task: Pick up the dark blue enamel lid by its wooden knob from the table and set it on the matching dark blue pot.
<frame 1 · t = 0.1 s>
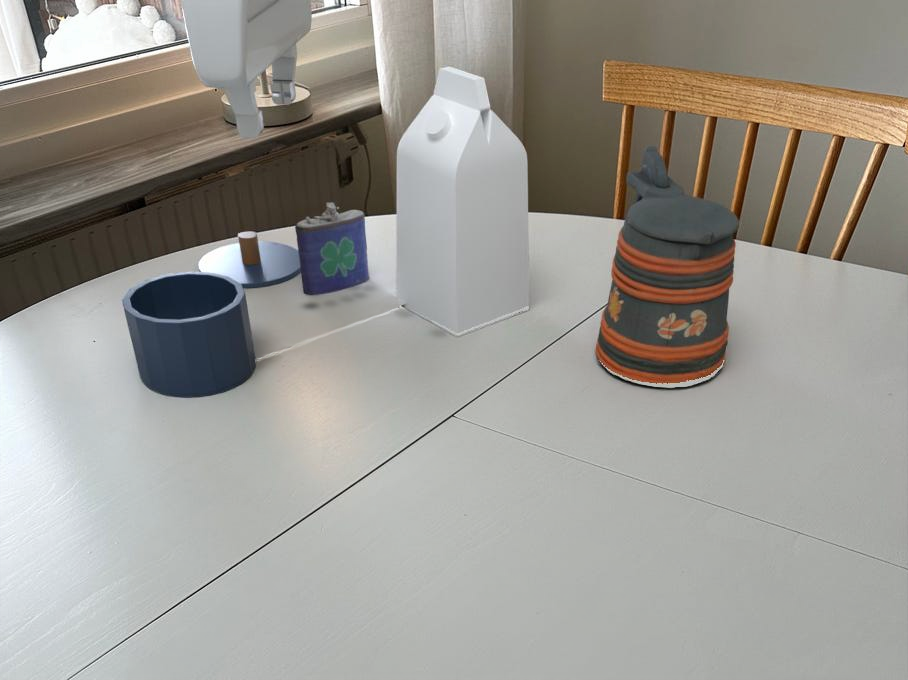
hand: (268, 118, 87), 29 cm above the table, tool pointing down, fingers open, 8 cm apart
milk: (462, 307, 126), on the table
beer stein: (650, 352, 117), on the table
pot: (198, 369, 113), on the table
pot lid: (252, 266, 132), point 1 cm above the table
flask: (337, 291, 129), on the table
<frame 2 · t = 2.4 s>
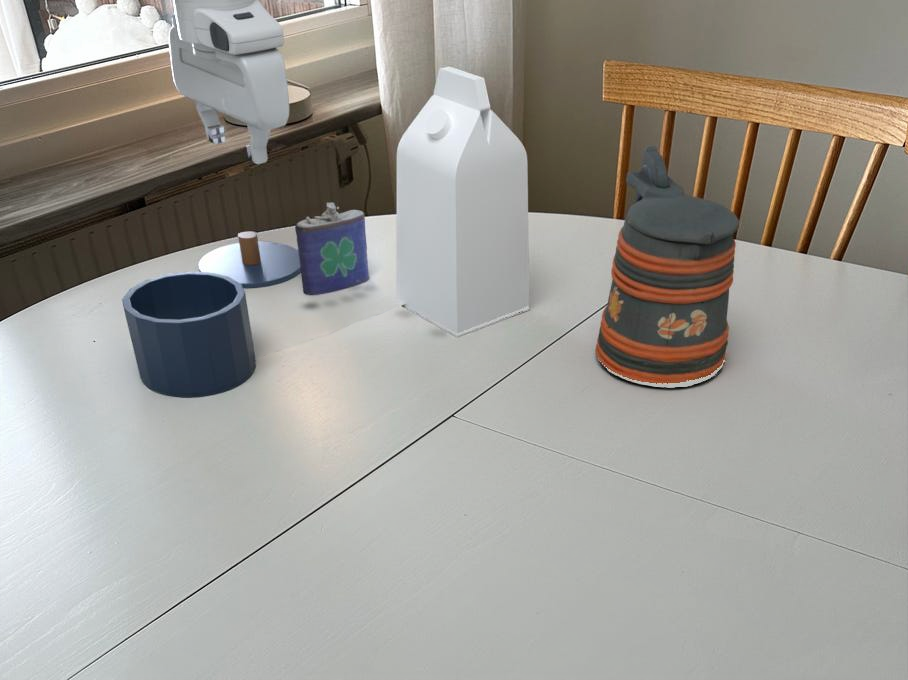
hand: (237, 151, 121), 15 cm above the table, tool pointing down, fingers open, 8 cm apart
nothing on the table moved.
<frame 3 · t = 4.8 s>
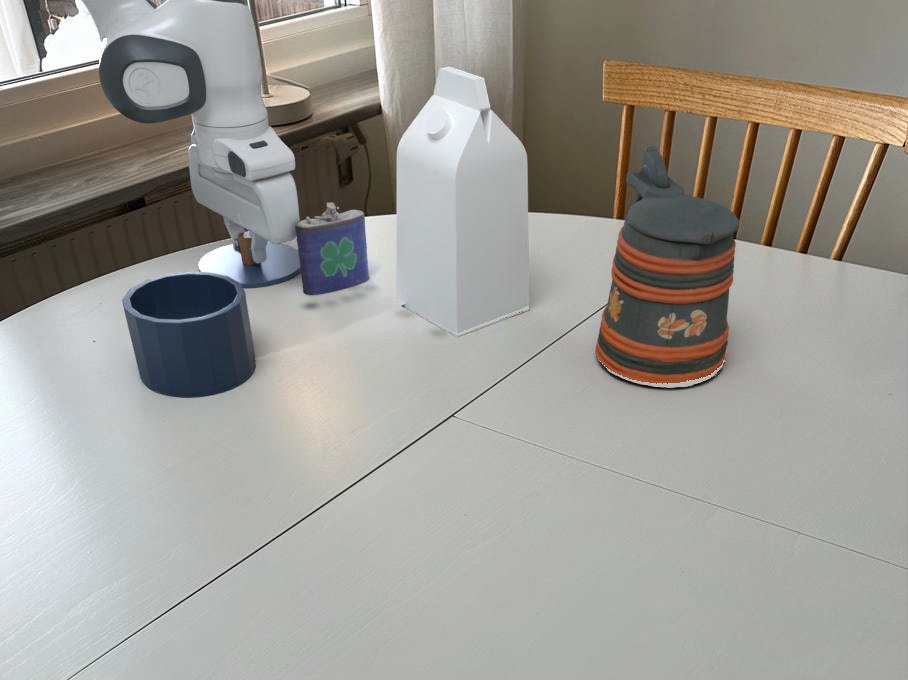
hand: (250, 256, 132), 2 cm above the table, tool pointing down, fingers closed on pot lid, 2 cm apart
pot lid: (252, 266, 132), point 1 cm above the table, touching gripper
everything else where it was.
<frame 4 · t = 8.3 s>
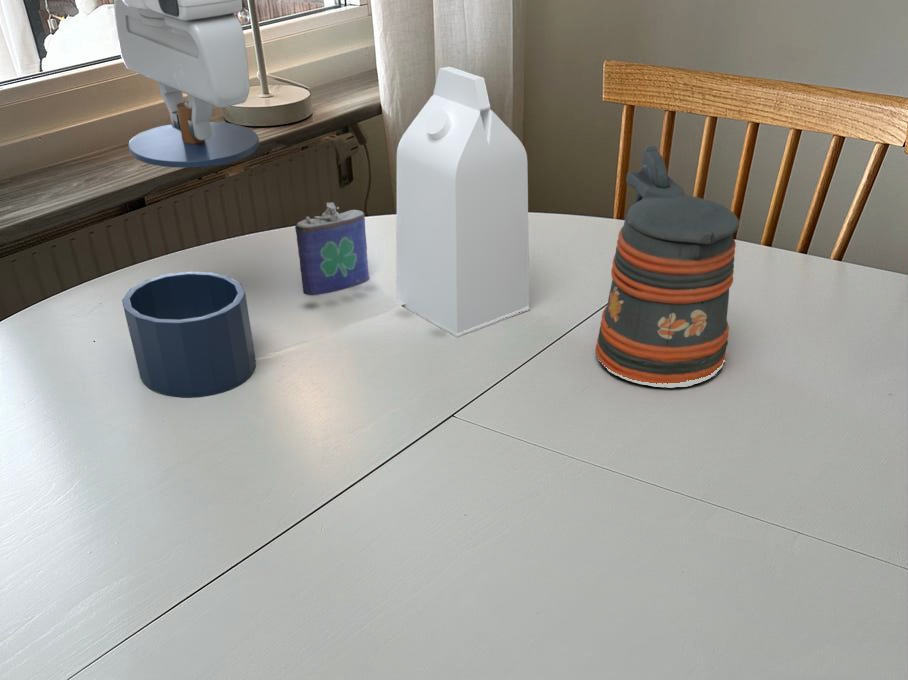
hand: (192, 133, 108), 21 cm above the table, tool pointing down, fingers closed on pot lid, 2 cm apart
pot lid: (195, 146, 109), point 20 cm above the table, touching gripper
everything else where it was.
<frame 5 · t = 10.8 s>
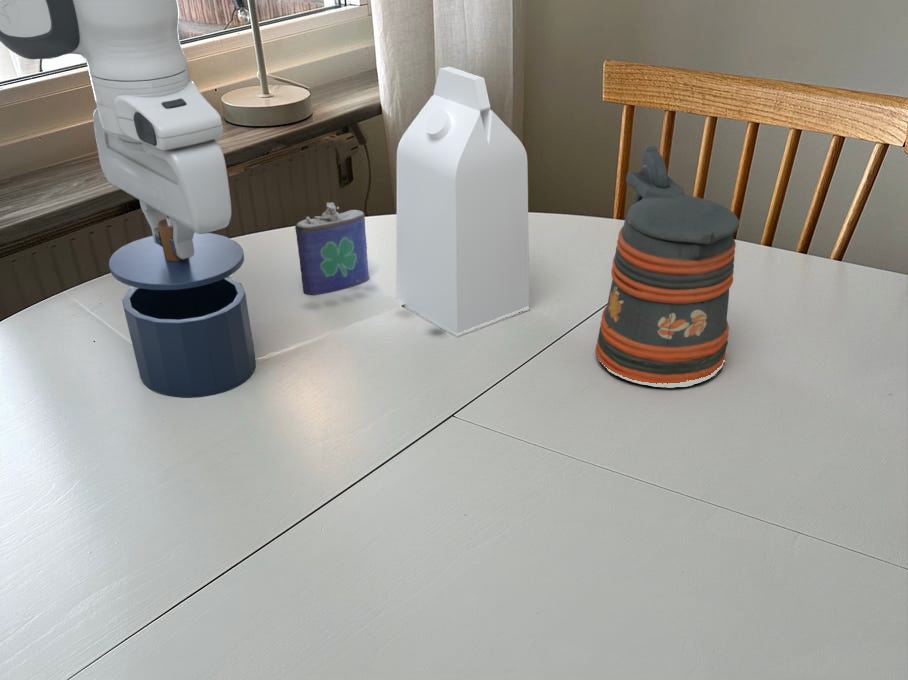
hand: (175, 250, 104), 13 cm above the table, tool pointing down, fingers closed on pot lid, 2 cm apart
pot lid: (177, 262, 105), point 12 cm above the table, touching gripper
everything else where it was.
when the fingers open (10 cm above the table, at t = 12.1 s): pot lid stays where it is, resting on pot.
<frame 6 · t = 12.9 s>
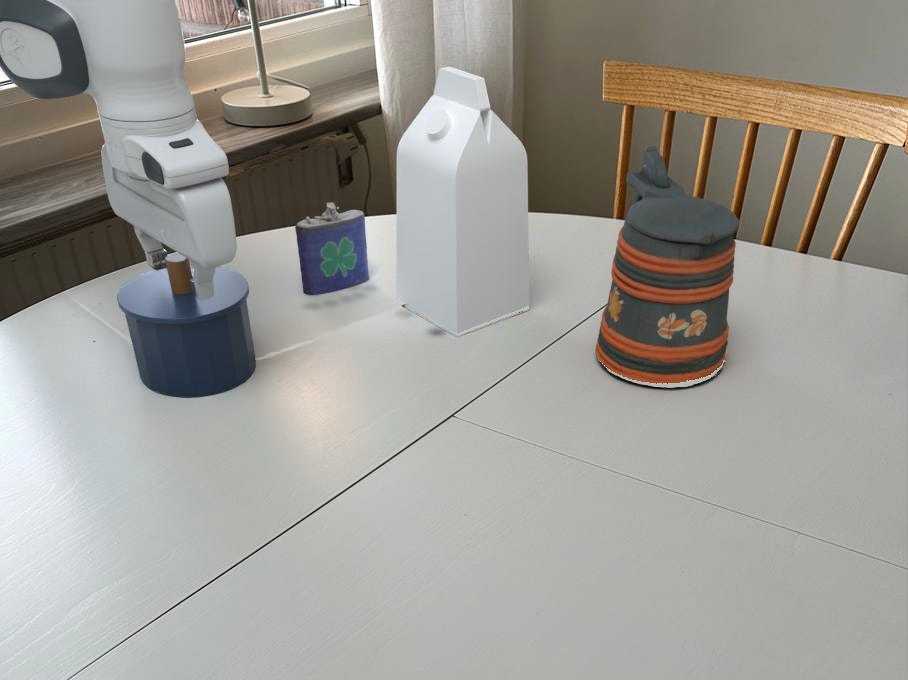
hand: (181, 281, 106), 10 cm above the table, tool pointing down, fingers open, 8 cm apart
pot lid: (184, 295, 107), point 8 cm above the table, touching pot
everything else where it was.
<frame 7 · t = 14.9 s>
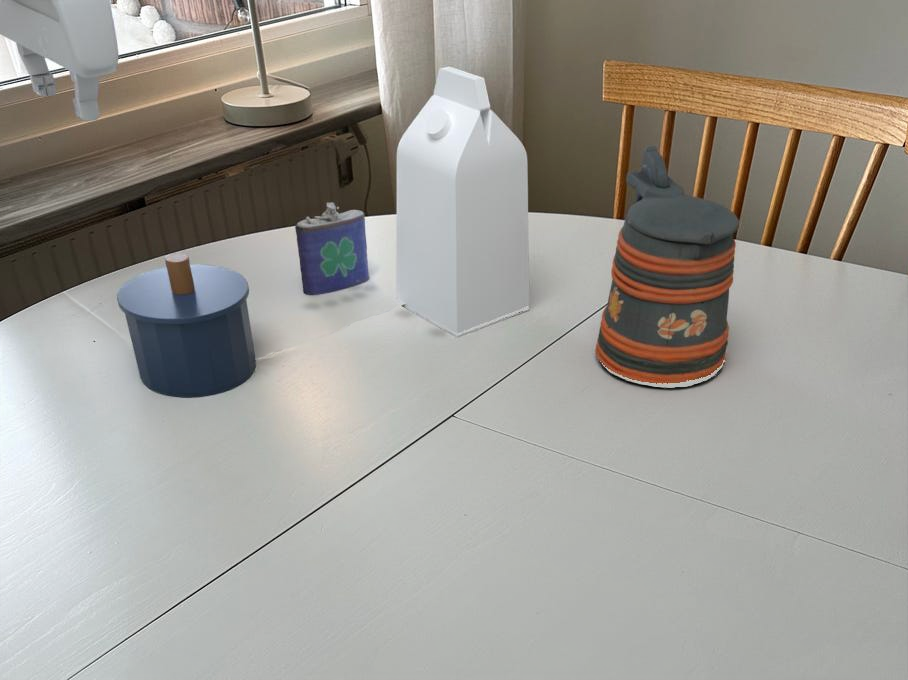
hand: (66, 106, 99), 26 cm above the table, tool pointing down, fingers open, 8 cm apart
nothing on the table moved.
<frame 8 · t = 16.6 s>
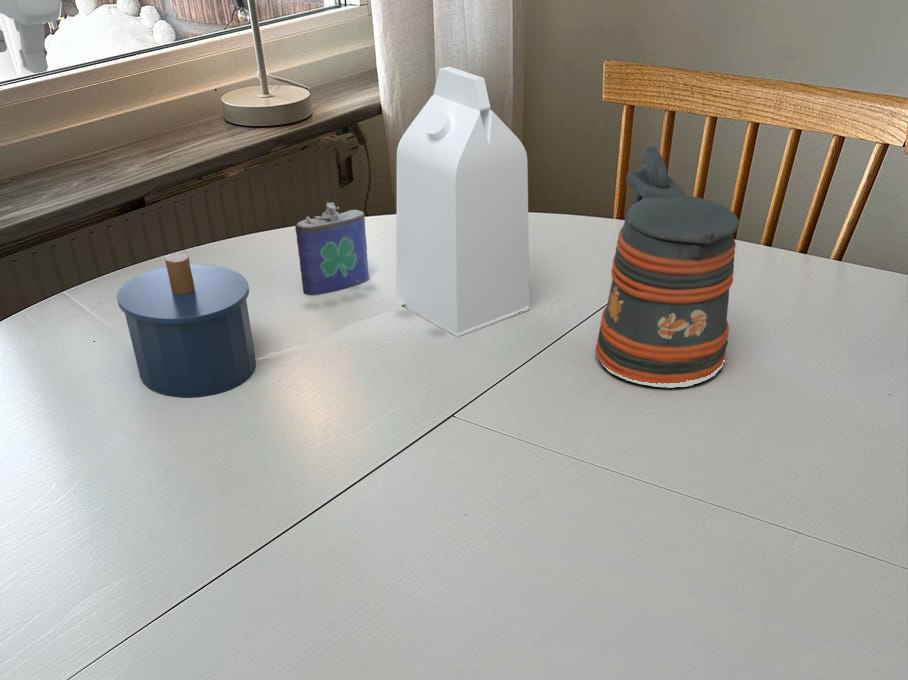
hand: (16, 61, 98), 29 cm above the table, tool pointing down, fingers open, 8 cm apart
nothing on the table moved.
at the end: pot lid 0.1 cm off-centre on the pot, point 8.5 cm above the pot's base; pot lid tilted 0°; the gripper is holding nothing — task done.
